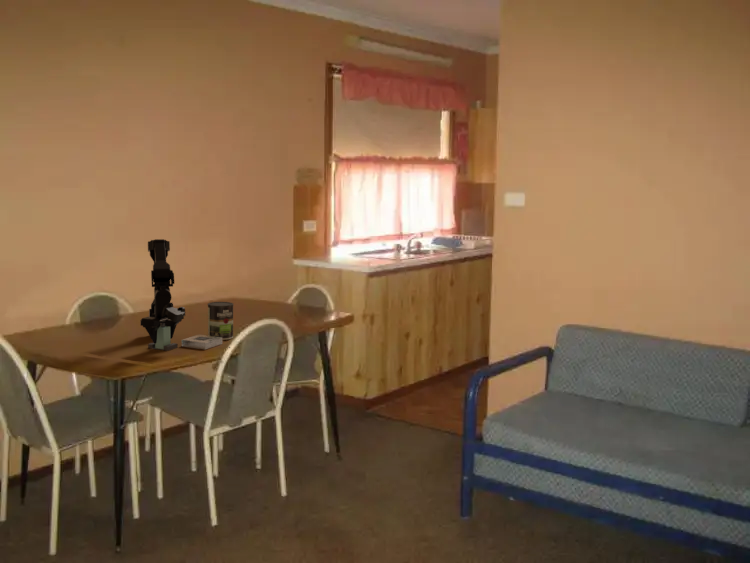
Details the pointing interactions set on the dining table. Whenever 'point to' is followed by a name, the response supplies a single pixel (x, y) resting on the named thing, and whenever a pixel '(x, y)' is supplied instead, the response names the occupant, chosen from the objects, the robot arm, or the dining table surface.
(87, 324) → the dining table surface
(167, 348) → the dark grey bracket
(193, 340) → the port
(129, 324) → the dining table surface
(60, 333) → the dining table surface
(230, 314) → the coffee can
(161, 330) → the plug
